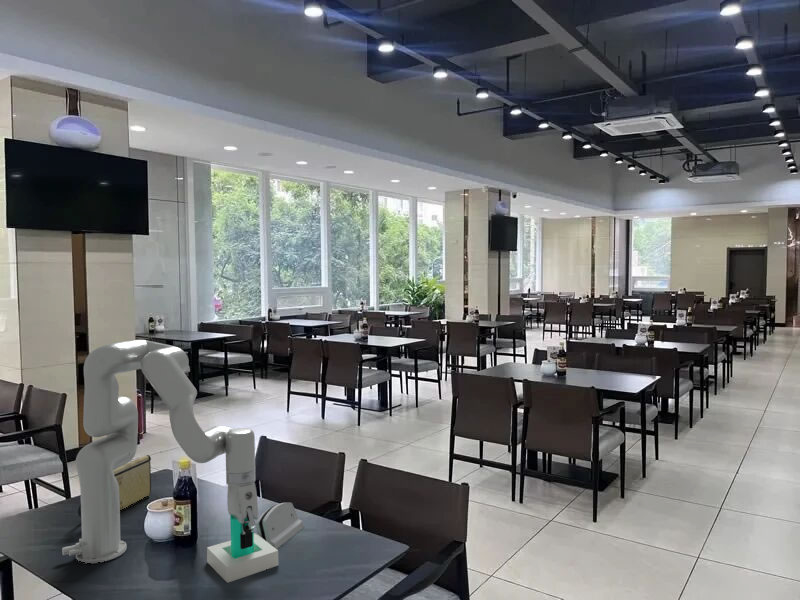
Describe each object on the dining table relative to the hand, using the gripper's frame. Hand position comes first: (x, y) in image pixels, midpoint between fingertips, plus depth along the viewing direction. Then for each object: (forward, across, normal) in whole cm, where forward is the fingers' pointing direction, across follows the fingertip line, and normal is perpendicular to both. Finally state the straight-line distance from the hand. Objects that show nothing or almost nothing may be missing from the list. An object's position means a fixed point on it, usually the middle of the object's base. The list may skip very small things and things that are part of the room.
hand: (242, 542), depth 153 cm
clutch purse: (+6, +63, +18) cm, 65 cm away
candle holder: (+6, 0, 0) cm, 6 cm away
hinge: (+6, +9, -16) cm, 19 cm away
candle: (+3, 0, 0) cm, 3 cm away
